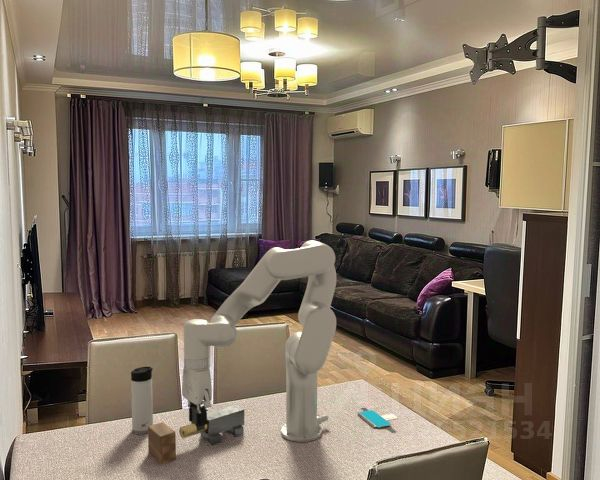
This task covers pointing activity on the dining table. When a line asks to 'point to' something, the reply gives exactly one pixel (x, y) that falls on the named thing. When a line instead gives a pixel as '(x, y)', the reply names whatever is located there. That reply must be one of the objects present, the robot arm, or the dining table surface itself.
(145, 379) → the travel mug
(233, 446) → the dining table surface
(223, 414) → the metal sleeve
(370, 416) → the cyan and grey device
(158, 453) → the walnut socket
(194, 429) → the brass rod
